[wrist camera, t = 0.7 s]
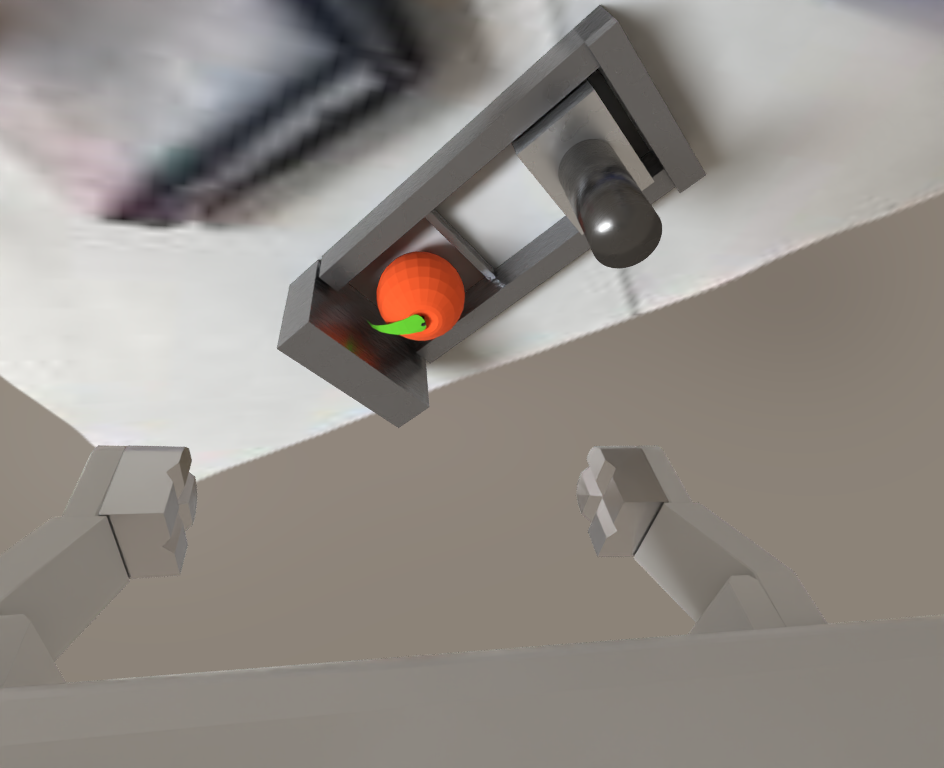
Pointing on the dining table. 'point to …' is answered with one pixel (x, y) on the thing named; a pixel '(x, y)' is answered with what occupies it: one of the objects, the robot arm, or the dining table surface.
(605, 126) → the ram
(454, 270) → the clementine
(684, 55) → the dining table surface
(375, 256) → the press
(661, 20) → the dining table surface
